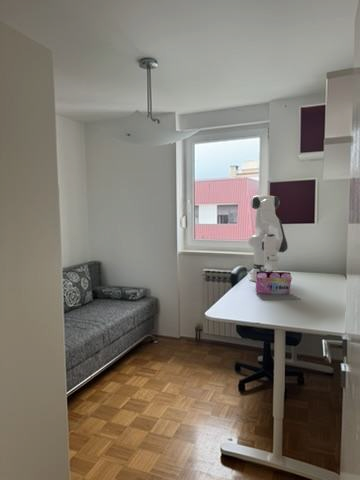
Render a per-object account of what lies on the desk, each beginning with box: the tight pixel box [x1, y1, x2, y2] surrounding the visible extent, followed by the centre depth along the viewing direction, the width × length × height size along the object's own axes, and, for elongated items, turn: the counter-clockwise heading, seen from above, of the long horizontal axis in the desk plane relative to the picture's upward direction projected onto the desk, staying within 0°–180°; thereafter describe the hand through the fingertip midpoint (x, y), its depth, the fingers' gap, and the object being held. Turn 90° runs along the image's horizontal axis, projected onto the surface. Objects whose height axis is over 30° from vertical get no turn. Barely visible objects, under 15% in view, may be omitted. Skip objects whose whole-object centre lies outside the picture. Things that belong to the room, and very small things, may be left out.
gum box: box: [255, 271, 293, 294], centre depth 228 cm, size 24×8×14 cm, turn 78°
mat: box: [255, 293, 301, 301], centre depth 221 cm, size 14×26×1 cm, turn 94°
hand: (270, 276), depth 231 cm, fingers closed
